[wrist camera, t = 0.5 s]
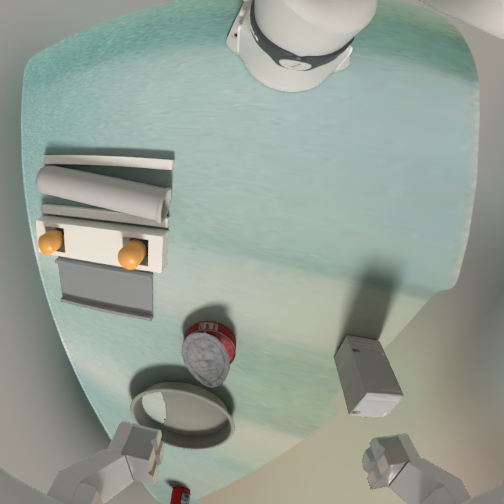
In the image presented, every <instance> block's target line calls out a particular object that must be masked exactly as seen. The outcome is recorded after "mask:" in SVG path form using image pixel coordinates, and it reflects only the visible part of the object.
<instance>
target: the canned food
mask: <svg viewBox="0 0 504 504" xmlns="http://www.w3.org/2000/svg"><path fill="white" fill-rule="evenodd" d="M181 353H182V356H183V360H184V363H185V365H186V366H187V368H188V370H189V372H190V373H191V374H192V375H193V376H194V377H195V378H196V379H197V380H198V381H200V382H201V383H202V384H203V385H205V386H207V387H210V388H213V387H219V385H220V384H221V383H223V382H224V381H225V379H226V377H227V375H228V372H229V369H230V364H231V363H232V362H233V360H234V359H235V355H236V340H235V337H234V335H233V333H232V332H231V331H230V330H229V329H228V328H227V327H225V326H224V325H222V324H219V323H216V322H211V321H205V322H199V323H196V324H194V325H193V326H191V327H190V328H189V329H188V331H187V332H186V335H185V338H184V341H183V345H182V352H181Z"/></svg>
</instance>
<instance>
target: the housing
mask: <svg viewBox="0 0 504 504" xmlns="http://www.w3.org/2000/svg"><path fill="white" fill-rule="evenodd" d="M174 162H175V160H171V159H158V158H144V157H127V156H103V155H43V164H80V165H106V166H124V167H139V168H152V169H164V170H174ZM42 207H43V213H46V214H55V215H64V216H73V217H82V218H91V219H99V220H108V221H116V222H125V223H133V224H141V225H149V226H157V227H165V228H167V227H168V226H169V218H170V217H169V216H166V218H165V220H164V221H163V222H162V223H161V224H160V223H158V222H157V221H155V220H151V219H147V218H143V217H139V216H135V215H131V214H126V213H122V212H118V211H114V210H106V209H97V208H87V207H77V206H66V205H56V204H44V205H42ZM56 228H64V242H65V244H63V246H62V247H61V248H59V249H58V250H56V251H55V252H54V253H52V254H51V255H57V256H62V257H67V258H73V259H79V260H84V261H90V262H96V263H102V264H108V265H114V266H120V267H122V266H121V265H120V263H119V261H118V252H119V251H120V250H121V249H122V248H123V247H124V246H125V245H126V244H127V243H128V242H129V241H130V238H138V239H145V240H148V257H145V258H144V259H143V260H142V262H141V263H140V264H139V265H138V267H137V268H135V269H138V270H145V271H151V272H158V273H162V272H163V270H164V268H165V267H166V265H167V253H168V234H169V230H164V229H156V228H148V227H140V226H132V225H123V224H115V223H107V222H99V221H90V220H82V219H73V218H65V217H56V216H47V215H46V216H44V217H42V218H40V219H38V220H36V230H37V241H38V240H39V237H40V236H41V235H43V234H45V233H47V232H48V231H50V230H52V229H56ZM38 251H39V252H41V250H40V249H39V246H38ZM41 253H42V252H41Z"/></svg>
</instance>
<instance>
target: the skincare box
mask: <svg viewBox="0 0 504 504" xmlns="http://www.w3.org/2000/svg"><path fill="white" fill-rule="evenodd" d="M334 360H335V363H336V367H337V371H338V374H339V378H340V382H341V386H342V389H343V393H344V397H345V400H346V405H347V409H348V413H349V415H356V416H364V417H386V415H387V414H388V413H389V412H390V411H391V410H392V409H393V408H394V407H395V406H396V404H397V403H398V402H399V401H400V400H401V399H402V397H403V396H404V395H403V393H402V391H401V388H400V386H399V384H398V382H397V379H396V377H395V375H394V372H393V370H392V368H391V366H390V363H389V361H388V359H387V357H386V355H385V352H384V350H383V348H382V346H381V344H380V342H379V341H378V340H372V339H367V338H362V337H356V336H350V335H347V336H346V337H345V339H344V341H343V343H342V344H341V346H340V348H339V350H338V351H337V353H336V355H335V357H334Z"/></svg>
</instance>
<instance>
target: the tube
mask: <svg viewBox="0 0 504 504" xmlns="http://www.w3.org/2000/svg"><path fill="white" fill-rule="evenodd" d="M35 183H36V185H37V186H38V188H39V190H40V191H41V193H43V194H47V195H52V196H56V197H60V198H64V199H68V200H73V201H77V202H81V203H85V204H89V205H93V206H98V207H102V208H106V209H110V210H114V211H118V212H122V213H126V214H131V215H135V216H139V217H143V218H147V219H151V220H155V221H157V222H158V223H160V224H161V223H162V222H163V221H164V220H165V218H166V216H167V213H168V211H169V207H170V202H171V196H172V188H170V187H168V188H163V187H158V186H154V185H149V184H145V183H140V182H135V181H131V180H126V179H121V178H116V177H111V176H106V175H101V174H96V173H91V172H86V171H81V170H75V169H70V168H65V167H59V166H54V165H50V166H45V167H43V168H41V169H40V170H39V173H38V175H37V178H36V182H35Z"/></svg>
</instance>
